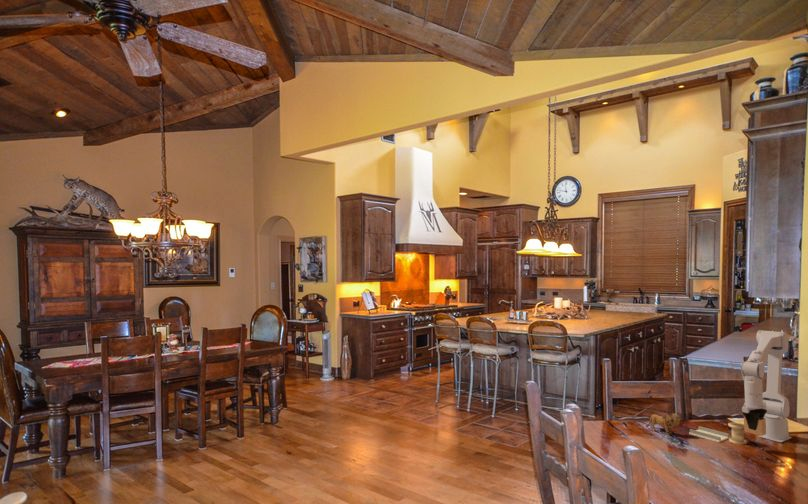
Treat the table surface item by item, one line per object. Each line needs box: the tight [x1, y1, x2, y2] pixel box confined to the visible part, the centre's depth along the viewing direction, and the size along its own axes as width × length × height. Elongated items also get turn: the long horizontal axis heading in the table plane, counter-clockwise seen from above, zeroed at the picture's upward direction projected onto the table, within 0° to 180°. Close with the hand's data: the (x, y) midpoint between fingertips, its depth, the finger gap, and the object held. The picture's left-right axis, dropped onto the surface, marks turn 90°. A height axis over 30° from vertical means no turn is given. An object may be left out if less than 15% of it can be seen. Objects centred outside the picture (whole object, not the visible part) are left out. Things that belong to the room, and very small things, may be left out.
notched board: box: [688, 425, 731, 443], centre depth 206 cm, size 9×12×2 cm
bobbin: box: [728, 421, 748, 446], centre depth 198 cm, size 6×6×7 cm
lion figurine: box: [645, 413, 681, 436], centre depth 212 cm, size 15×5×9 cm, turn 37°
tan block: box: [743, 415, 766, 436], centre depth 190 cm, size 4×6×6 cm, turn 31°
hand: (754, 428), depth 190 cm, fingers closed on tan block, 3 cm apart
